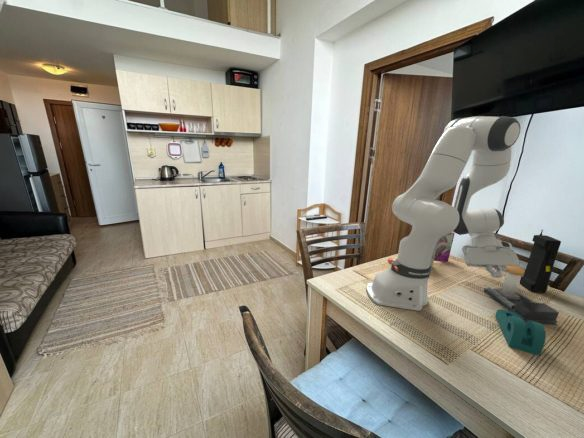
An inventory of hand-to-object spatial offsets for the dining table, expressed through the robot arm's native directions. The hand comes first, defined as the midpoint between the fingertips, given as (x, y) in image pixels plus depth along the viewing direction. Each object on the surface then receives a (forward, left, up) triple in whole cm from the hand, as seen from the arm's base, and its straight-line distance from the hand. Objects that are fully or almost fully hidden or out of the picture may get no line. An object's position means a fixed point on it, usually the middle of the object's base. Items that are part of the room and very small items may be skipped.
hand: (497, 277), depth 98 cm
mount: (0, -11, -6) cm, 12 cm away
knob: (0, -6, -4) cm, 8 cm away
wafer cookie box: (-9, +29, -6) cm, 31 cm away
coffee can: (-20, +21, -6) cm, 29 cm away
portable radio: (+18, +3, -6) cm, 19 cm away
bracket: (-12, -25, -6) cm, 28 cm away
